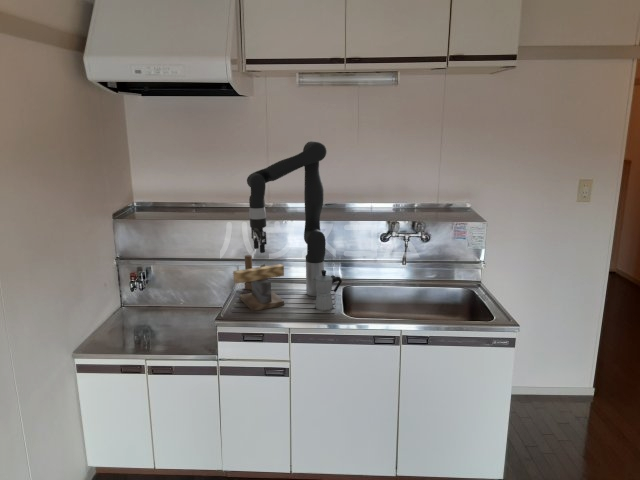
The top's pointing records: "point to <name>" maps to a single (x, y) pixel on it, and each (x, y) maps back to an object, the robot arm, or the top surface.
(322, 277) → the coffee maker
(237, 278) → the oak bar
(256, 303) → the ridge stand
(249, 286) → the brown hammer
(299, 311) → the top surface
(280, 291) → the top surface
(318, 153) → the robot arm
